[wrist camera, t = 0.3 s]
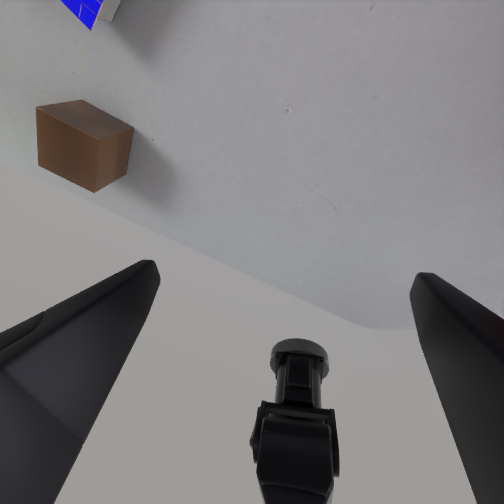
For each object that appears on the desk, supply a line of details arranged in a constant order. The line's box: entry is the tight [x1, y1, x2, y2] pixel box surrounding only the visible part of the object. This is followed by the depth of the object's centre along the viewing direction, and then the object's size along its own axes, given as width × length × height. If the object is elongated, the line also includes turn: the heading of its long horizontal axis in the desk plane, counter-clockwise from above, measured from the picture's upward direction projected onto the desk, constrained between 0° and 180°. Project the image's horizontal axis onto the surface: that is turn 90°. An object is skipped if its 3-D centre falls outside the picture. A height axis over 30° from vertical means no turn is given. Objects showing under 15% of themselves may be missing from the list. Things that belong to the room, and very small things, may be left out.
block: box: [36, 100, 134, 193], centre depth 19 cm, size 4×4×4 cm
